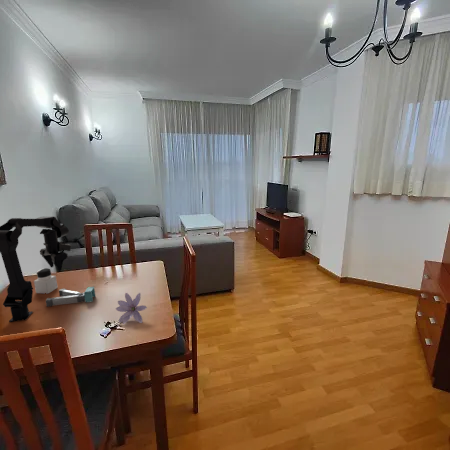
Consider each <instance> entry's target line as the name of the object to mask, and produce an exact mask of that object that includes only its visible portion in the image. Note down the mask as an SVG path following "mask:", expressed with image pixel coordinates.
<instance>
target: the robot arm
mask: <svg viewBox="0 0 450 450" xmlns="http://www.w3.org/2000/svg"><path fill="white" fill-rule="evenodd" d="M24 227H26V228H28V227H37V228H41V231H40V232H39V235H43V238H44V242H43V246H45V248H41V249H40V250H39V254H40V256H41V257H42V258H43V259H44V260H45V262H46V263H47V264H48V265H49V267H50V268H54V266H55V268H56V270H57V271H58V272H61V271H62V267H63V263H64V261H65V260H67V259H68V258H69V255H68V253H67V252H71V249H72V244H69V243H66V242H65V241H59V239H60V238H62V237H65V236H68V234H69V232H70V230H69V229H68V227H67V226H65V224H64V223H60V222H59V220H58V219H57V217H56V216H39V217H35V218H22V217H18V218H17V217H11V218H9V219H8V220H7V221H6V222H5V223H4V224H2V225H0V255H1V258H2V262H3V264H4V265H3V266H4V268H5V272H6V275H7V278H8V282H9V285H8V286H7V289H6V292H7V293H6V294H7V295H6V297H5V299H4V301H3V303H2V305H3V306H4V307H5V308H10V313H11V316H12V317H11V318H10V319H9V320H8V322H9V323H12V322H22V321H26V320H27V319H29V317H30V316H32V314H33V310H31V311H29V305H30V304H31V303H32V300H33V292H34V291H33V290H34V287H33V285H32V282H31V280H25V277H24V274H23V271H22V267H21V264H20V260H19V257H18V253H17V247H18V245H19V238H20V236H21V235H22V234H23V228H24ZM13 228H14V229H13ZM12 229H13V230H12ZM64 251H66V252H64Z"/></svg>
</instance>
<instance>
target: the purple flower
mask: <svg viewBox="0 0 450 450" xmlns="http://www.w3.org/2000/svg"><path fill="white" fill-rule="evenodd" d="M124 298H125V300H118V301H117V305H119V306H117V307H116V308H115V310H116V311H117V312H121V313H123V314H122V315H121V316H120V317H119V319H118V322H117V323H118V324H119V322H120V323H122V324H123V325H124V324H126V323H127V322H129V320H130V319H131V318H132V317H133V319H134V321H136V322H138V323H140V324H143V317H142V315H141V313H140V312H142V311H145V310H146V309H147V308H148V307H147V306H146V305H142V304H141V305H139V304H140V301H141V292H138V294H136V295H135V298H133V299H132V297H131V295H130V294H129V293H128V292H125V294H124ZM124 312H125V313H124Z"/></svg>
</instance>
